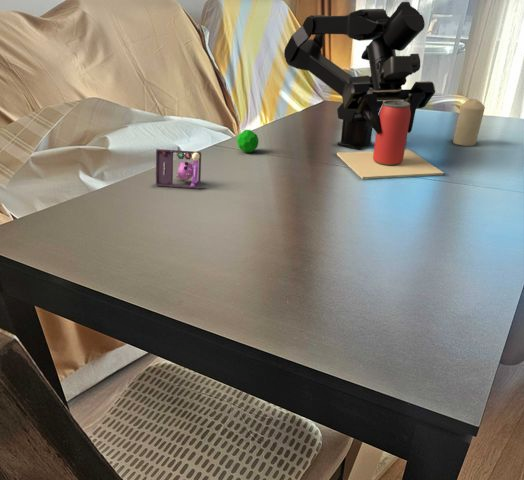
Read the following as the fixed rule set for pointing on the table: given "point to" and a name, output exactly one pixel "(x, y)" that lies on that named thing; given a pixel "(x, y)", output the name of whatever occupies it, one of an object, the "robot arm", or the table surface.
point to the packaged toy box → (185, 169)
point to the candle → (469, 122)
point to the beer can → (392, 132)
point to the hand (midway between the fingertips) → (394, 132)
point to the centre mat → (388, 166)
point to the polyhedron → (247, 141)
